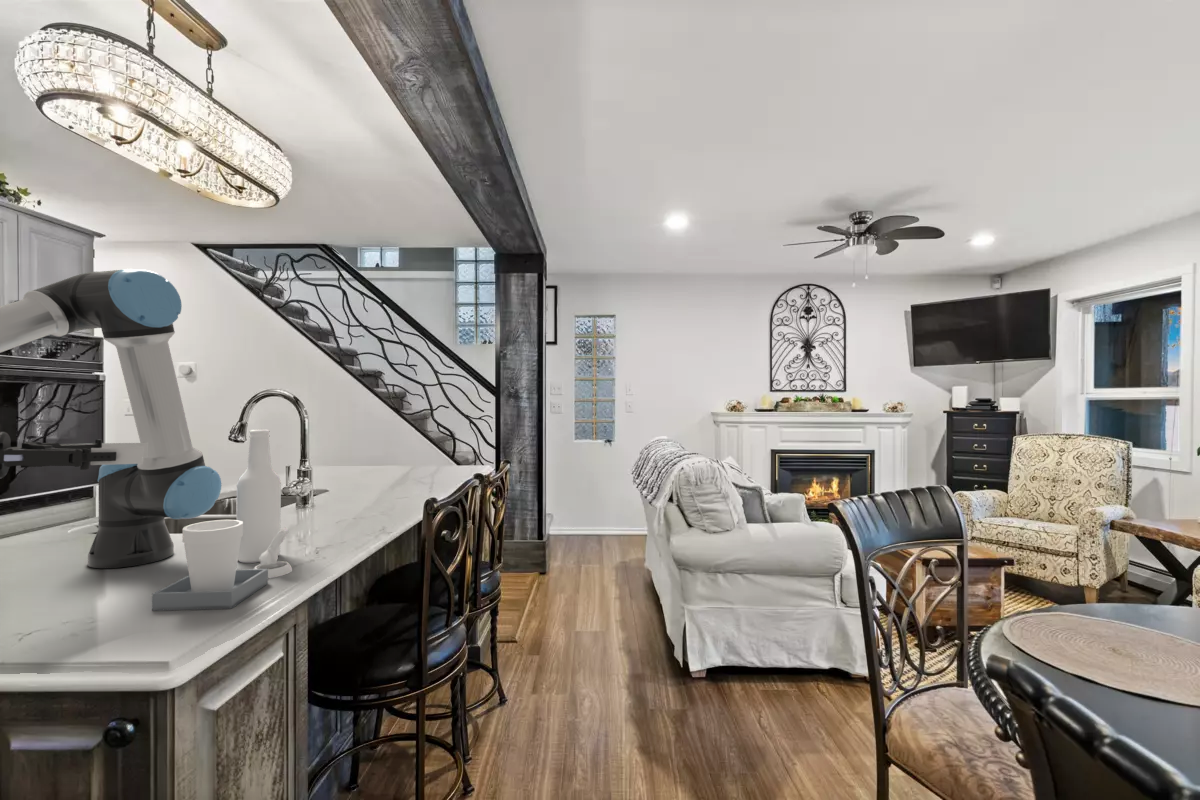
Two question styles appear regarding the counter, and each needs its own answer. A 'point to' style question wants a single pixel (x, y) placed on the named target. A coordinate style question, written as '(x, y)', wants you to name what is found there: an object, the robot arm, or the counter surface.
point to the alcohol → (258, 500)
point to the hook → (274, 557)
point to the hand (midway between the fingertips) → (145, 452)
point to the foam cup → (212, 554)
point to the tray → (209, 593)
